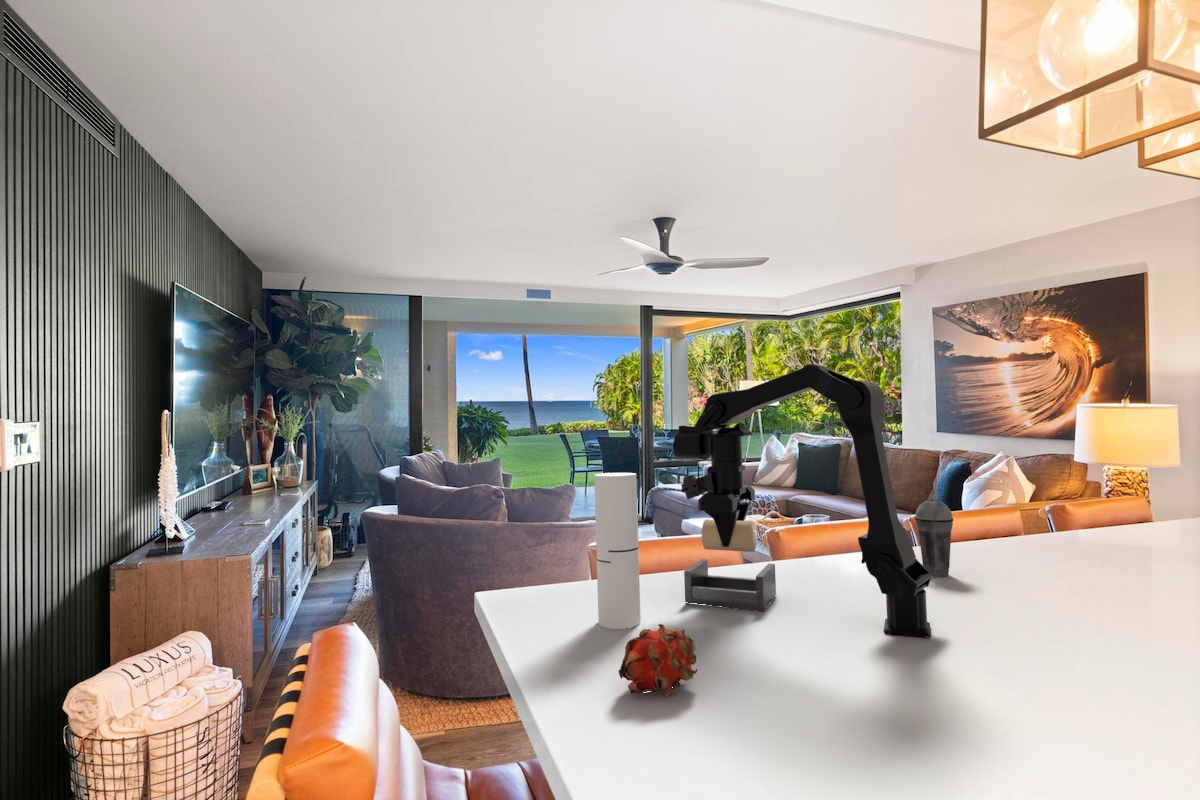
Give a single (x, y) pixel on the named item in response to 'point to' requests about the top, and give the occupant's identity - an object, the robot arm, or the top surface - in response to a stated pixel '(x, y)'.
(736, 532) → the paper roll
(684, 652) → the dragon fruit
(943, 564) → the beverage cup
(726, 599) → the cradle
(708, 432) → the robot arm
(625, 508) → the cylindrical container
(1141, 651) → the top surface
